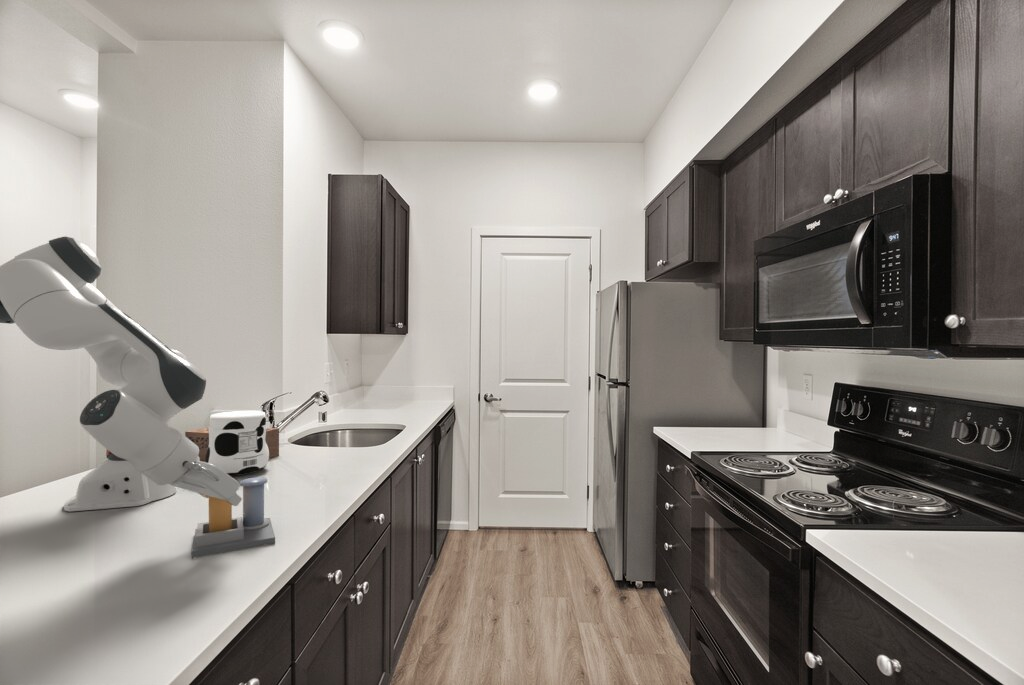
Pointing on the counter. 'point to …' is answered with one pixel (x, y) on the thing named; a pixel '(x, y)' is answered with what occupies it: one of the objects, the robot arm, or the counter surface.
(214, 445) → the milk container
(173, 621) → the counter surface
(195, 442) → the tissue box cover
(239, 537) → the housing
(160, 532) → the counter surface
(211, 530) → the pin
